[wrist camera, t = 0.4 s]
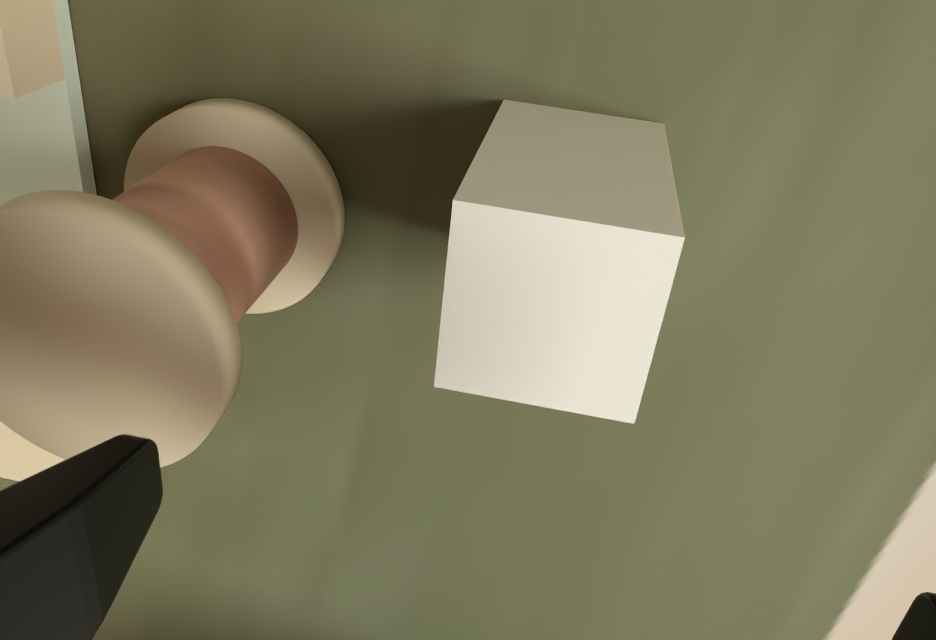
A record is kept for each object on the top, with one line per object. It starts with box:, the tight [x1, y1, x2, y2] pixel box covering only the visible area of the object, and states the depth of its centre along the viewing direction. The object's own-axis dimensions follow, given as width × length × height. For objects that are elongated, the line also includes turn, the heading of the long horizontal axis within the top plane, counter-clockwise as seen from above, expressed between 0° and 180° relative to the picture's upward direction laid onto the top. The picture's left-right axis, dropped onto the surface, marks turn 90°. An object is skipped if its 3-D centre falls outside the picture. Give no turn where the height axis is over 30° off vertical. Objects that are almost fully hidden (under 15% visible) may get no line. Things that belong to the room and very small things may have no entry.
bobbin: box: [0, 98, 345, 468], centre depth 19 cm, size 6×6×8 cm
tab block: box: [434, 100, 685, 424], centre depth 17 cm, size 4×4×7 cm
